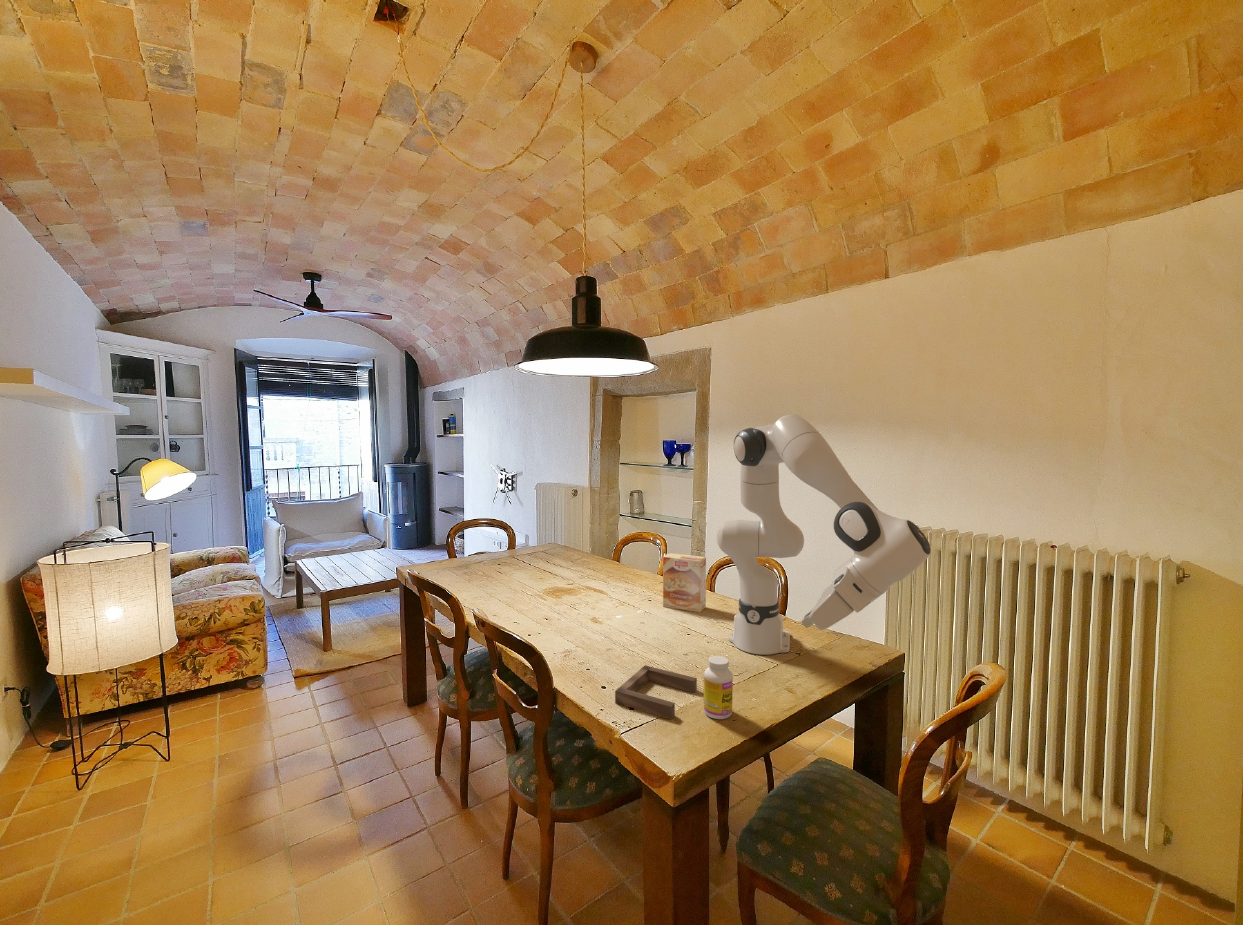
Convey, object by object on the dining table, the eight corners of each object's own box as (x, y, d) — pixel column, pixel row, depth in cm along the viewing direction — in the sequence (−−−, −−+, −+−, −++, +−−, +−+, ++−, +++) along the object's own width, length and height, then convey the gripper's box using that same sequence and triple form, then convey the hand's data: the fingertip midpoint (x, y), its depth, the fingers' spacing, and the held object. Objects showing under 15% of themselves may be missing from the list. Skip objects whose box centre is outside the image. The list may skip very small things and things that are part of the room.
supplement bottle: (722, 724, 117) (723, 669, 117) (698, 713, 122) (698, 660, 121) (737, 712, 122) (738, 659, 122) (713, 702, 127) (713, 651, 126)
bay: (645, 676, 141) (645, 665, 140) (696, 689, 133) (696, 678, 133) (615, 702, 127) (615, 690, 127) (671, 719, 119) (671, 706, 119)
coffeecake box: (662, 607, 196) (662, 556, 195) (669, 601, 203) (669, 552, 202) (700, 613, 190) (700, 560, 189) (706, 607, 196) (706, 556, 195)
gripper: (850, 560, 115) (803, 597, 121) (837, 584, 98) (784, 625, 103) (871, 583, 113) (823, 619, 119) (863, 611, 96) (807, 651, 101)
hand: (805, 622), depth 111 cm, fingers closed
